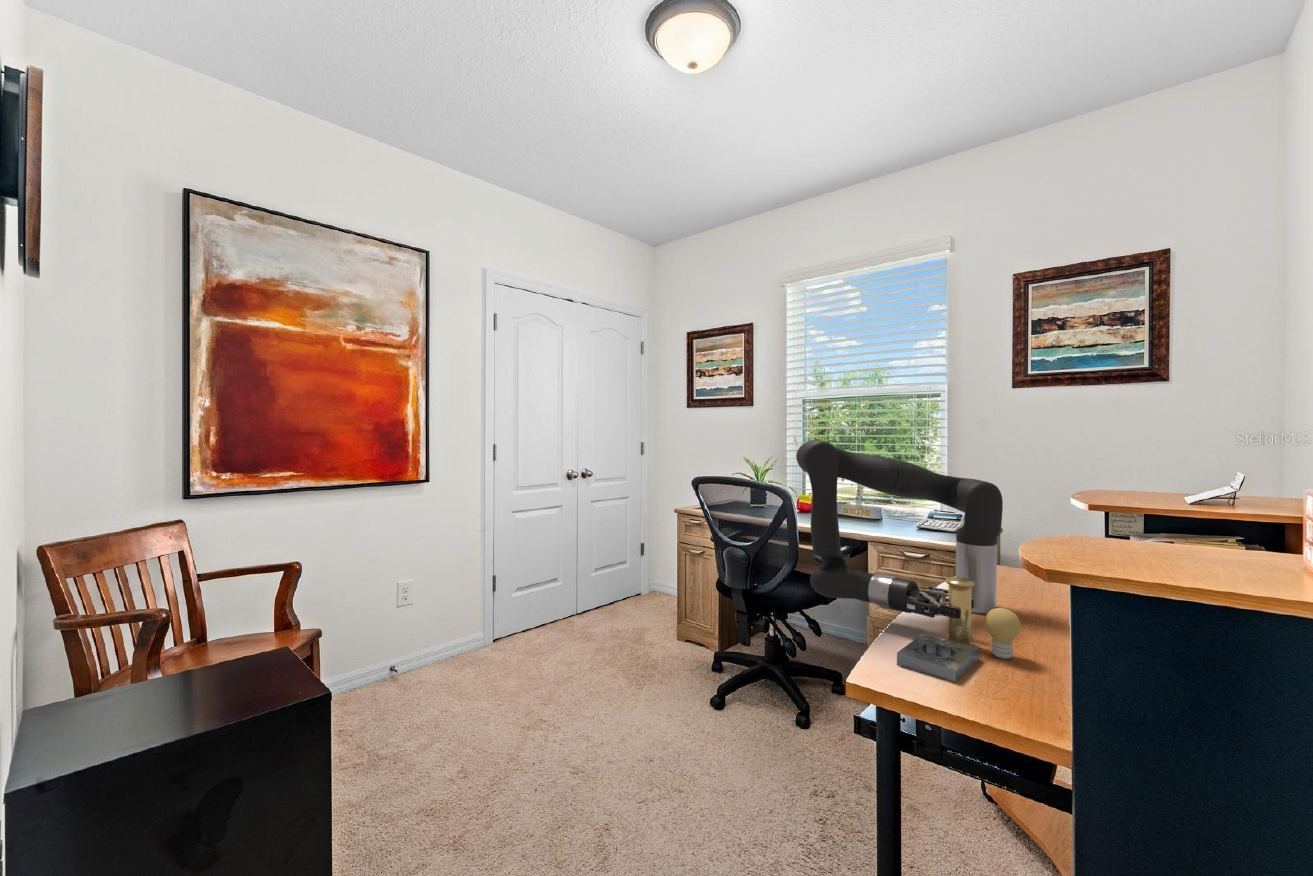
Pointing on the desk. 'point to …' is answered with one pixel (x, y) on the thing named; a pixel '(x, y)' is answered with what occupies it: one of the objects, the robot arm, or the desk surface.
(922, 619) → the desk surface
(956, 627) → the rivet
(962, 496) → the robot arm
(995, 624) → the light bulb
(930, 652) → the jig
